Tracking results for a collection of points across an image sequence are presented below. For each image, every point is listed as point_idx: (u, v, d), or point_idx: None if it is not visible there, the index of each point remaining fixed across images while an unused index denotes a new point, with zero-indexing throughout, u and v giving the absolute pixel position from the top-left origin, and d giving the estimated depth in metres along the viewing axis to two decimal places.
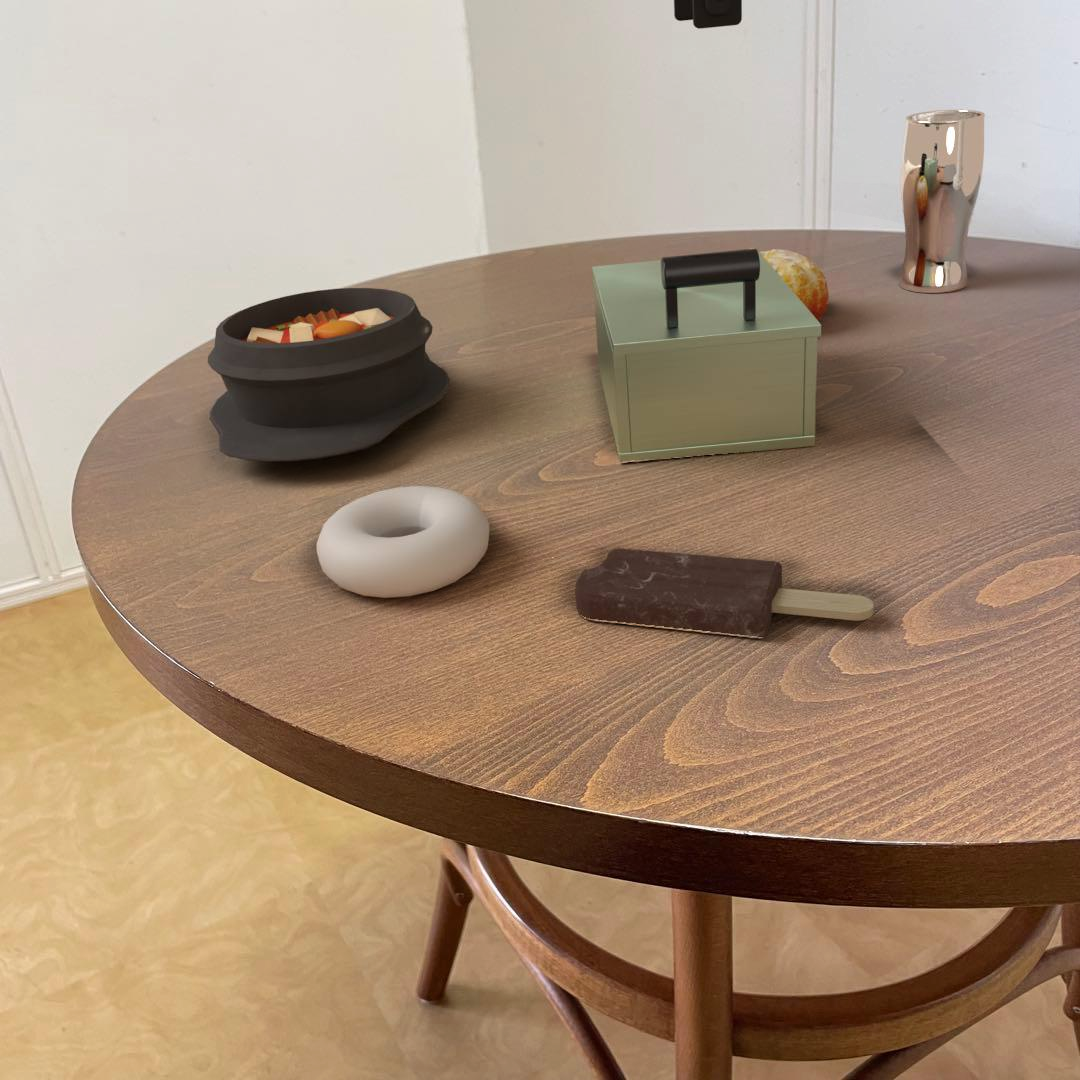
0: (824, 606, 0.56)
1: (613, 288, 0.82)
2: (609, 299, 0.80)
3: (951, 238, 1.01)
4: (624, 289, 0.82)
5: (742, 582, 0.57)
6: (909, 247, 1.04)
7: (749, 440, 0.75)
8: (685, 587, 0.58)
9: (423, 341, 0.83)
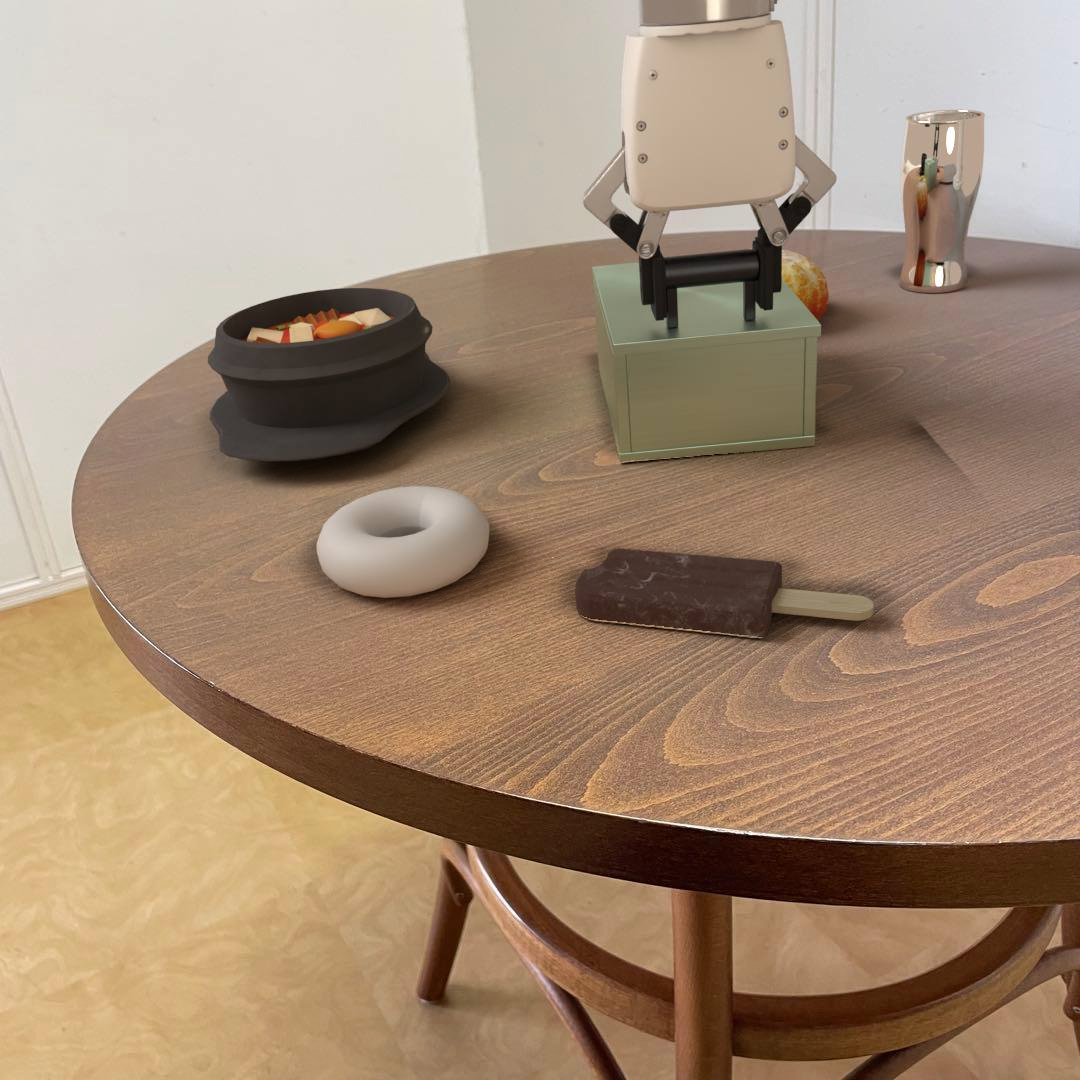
0: (824, 606, 0.56)
1: (613, 288, 0.82)
2: (609, 299, 0.80)
3: (951, 238, 1.01)
4: (624, 289, 0.82)
5: (742, 582, 0.57)
6: (909, 247, 1.04)
7: (749, 440, 0.75)
8: (685, 587, 0.58)
9: (423, 341, 0.83)
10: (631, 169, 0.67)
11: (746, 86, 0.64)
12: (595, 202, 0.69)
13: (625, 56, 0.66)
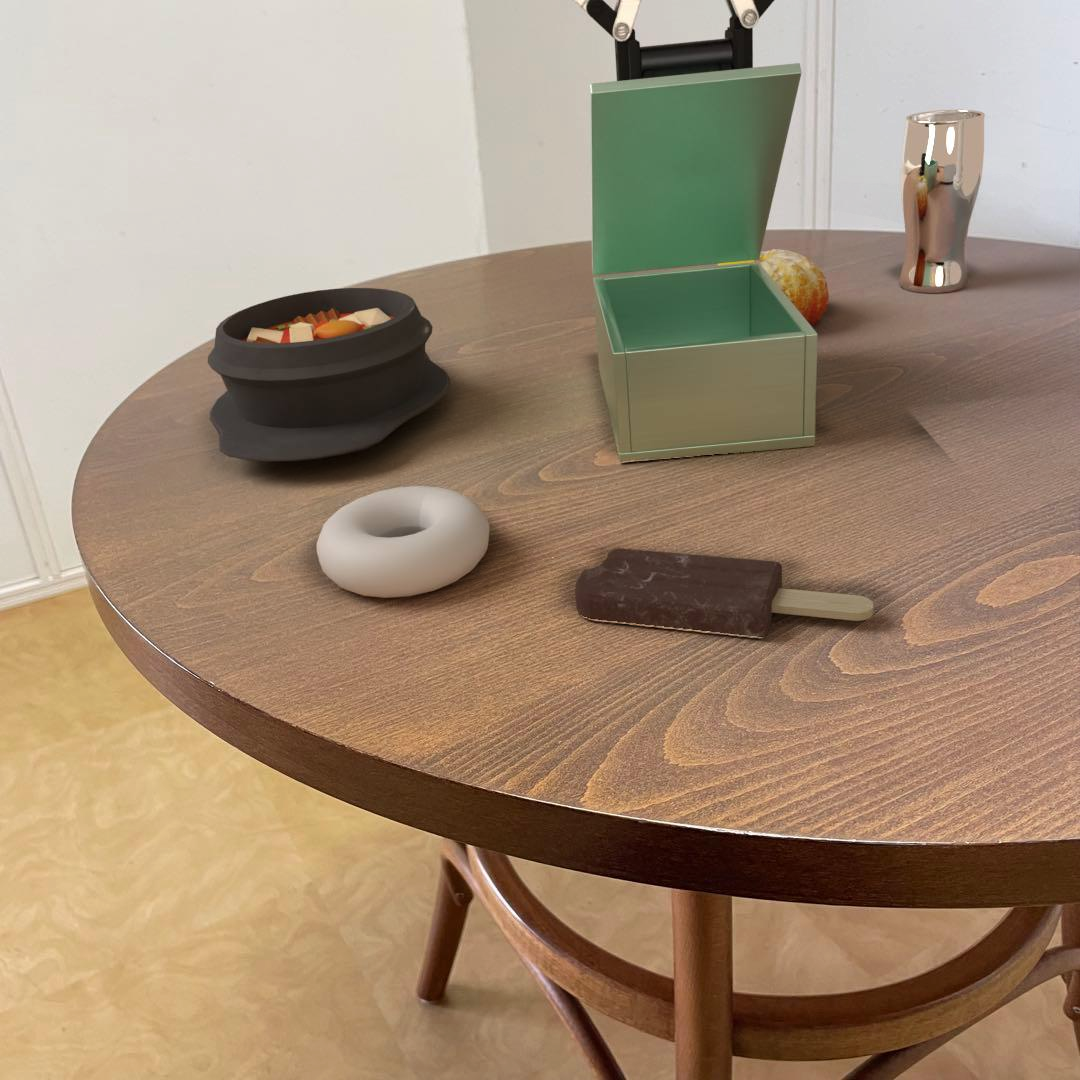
0: (824, 606, 0.56)
1: None
2: None
3: (951, 238, 1.01)
4: None
5: (742, 582, 0.57)
6: (909, 247, 1.04)
7: (749, 440, 0.75)
8: (685, 587, 0.58)
9: (423, 341, 0.83)
10: None
11: None
12: None
13: None
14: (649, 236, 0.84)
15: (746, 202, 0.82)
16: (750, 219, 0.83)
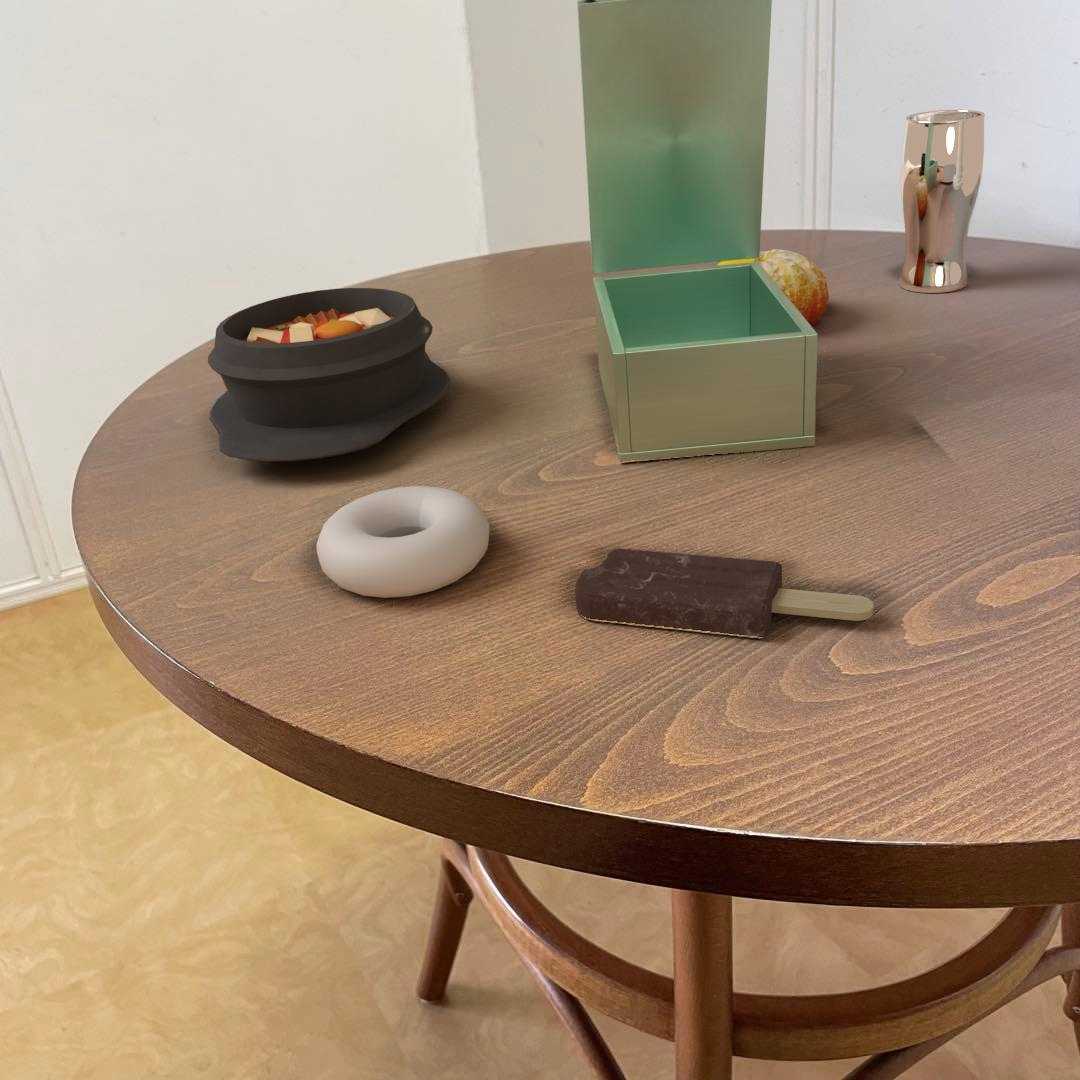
0: (824, 606, 0.56)
1: None
2: None
3: (951, 238, 1.01)
4: None
5: (742, 582, 0.57)
6: (909, 247, 1.04)
7: (749, 440, 0.75)
8: (685, 587, 0.58)
9: (423, 341, 0.83)
10: None
11: None
12: None
13: None
14: (646, 215, 0.86)
15: (738, 168, 0.84)
16: (744, 194, 0.85)
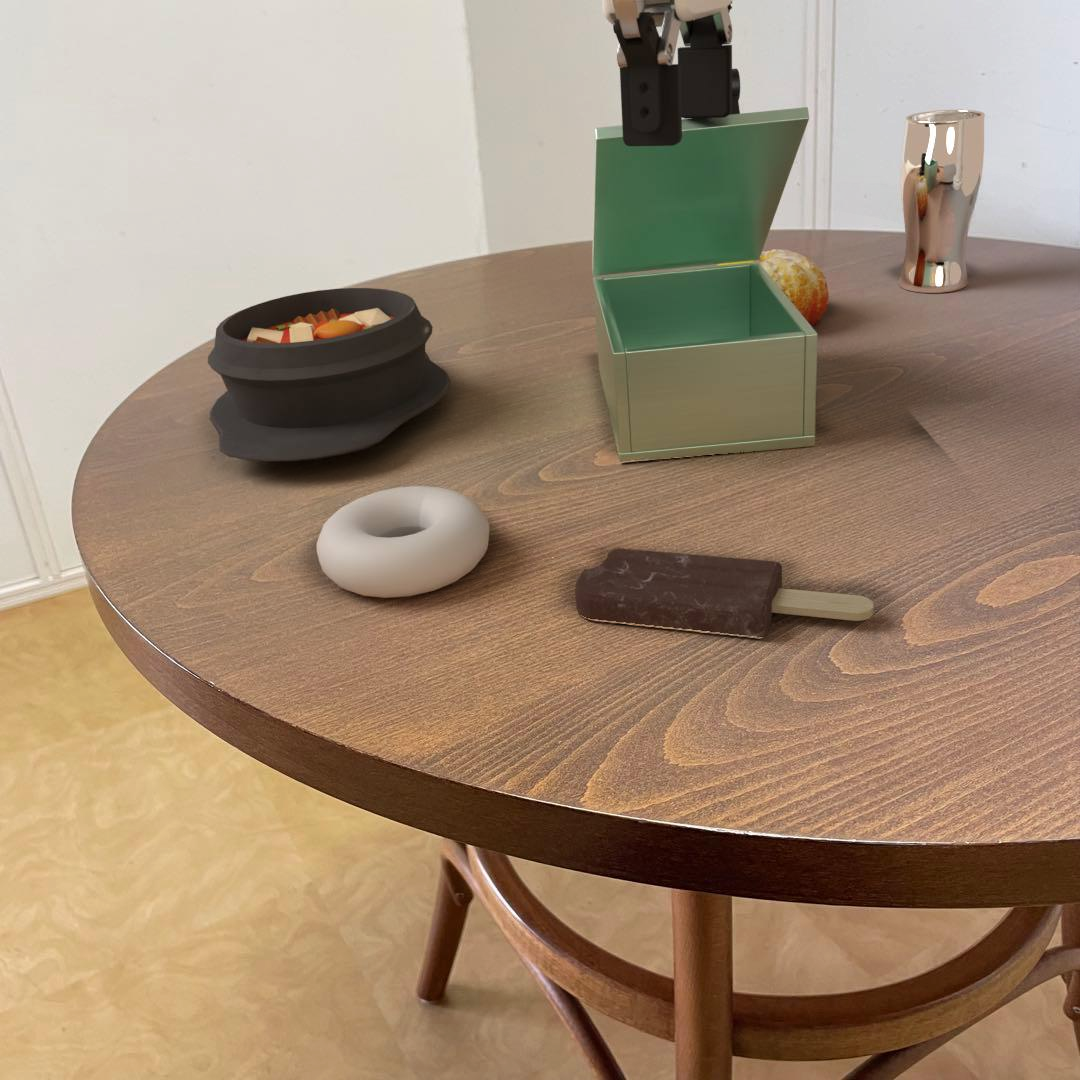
0: (824, 606, 0.56)
1: None
2: None
3: (951, 238, 1.01)
4: None
5: (742, 582, 0.57)
6: (909, 247, 1.04)
7: (749, 440, 0.75)
8: (685, 587, 0.58)
9: (423, 341, 0.83)
10: None
11: None
12: None
13: None
14: (650, 245, 0.84)
15: (748, 217, 0.81)
16: (751, 230, 0.83)
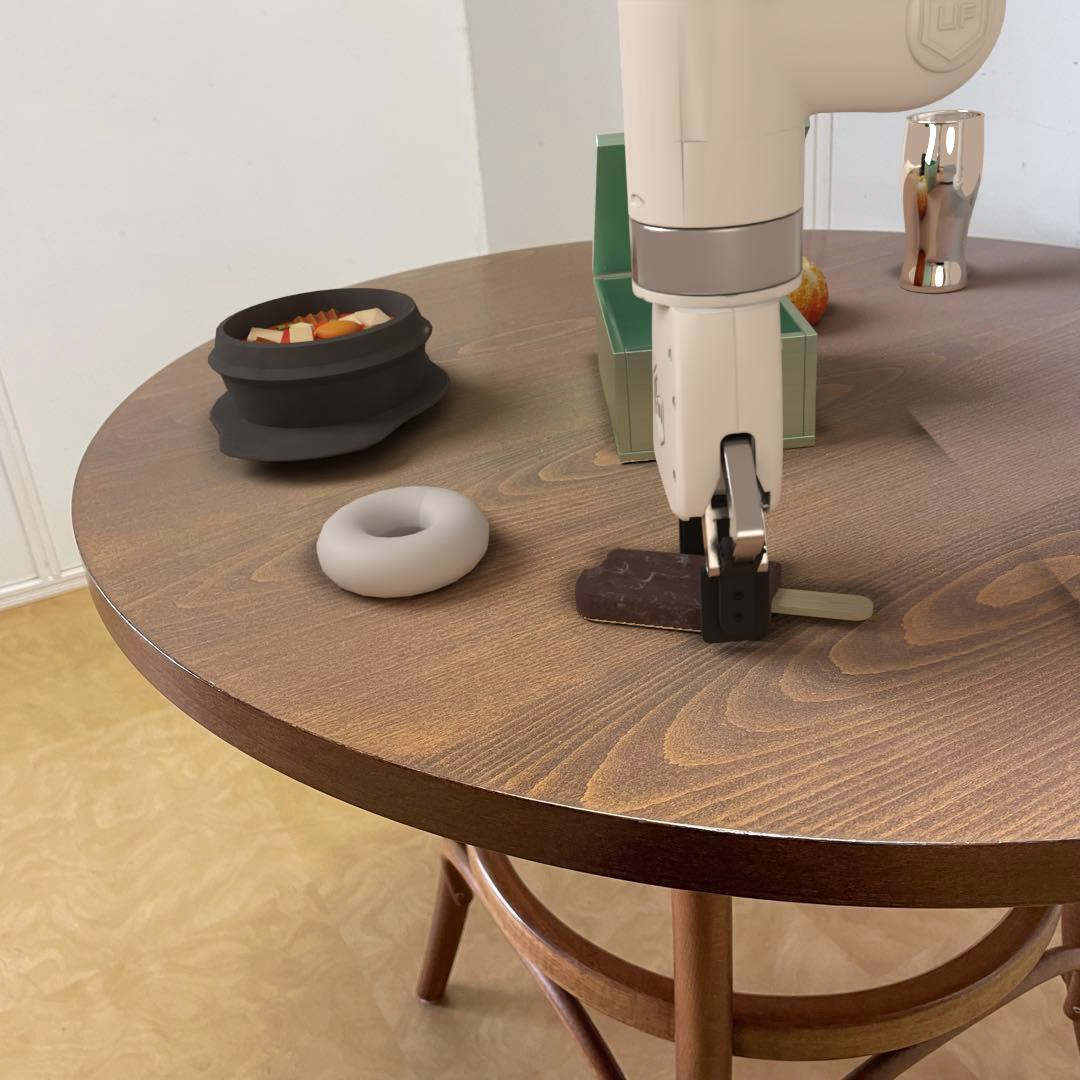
0: (824, 606, 0.56)
1: None
2: None
3: (951, 238, 1.01)
4: None
5: None
6: (909, 247, 1.04)
7: None
8: (685, 587, 0.58)
9: (423, 341, 0.83)
10: (779, 467, 0.50)
11: None
12: None
13: (728, 338, 0.47)
14: None
15: None
16: None
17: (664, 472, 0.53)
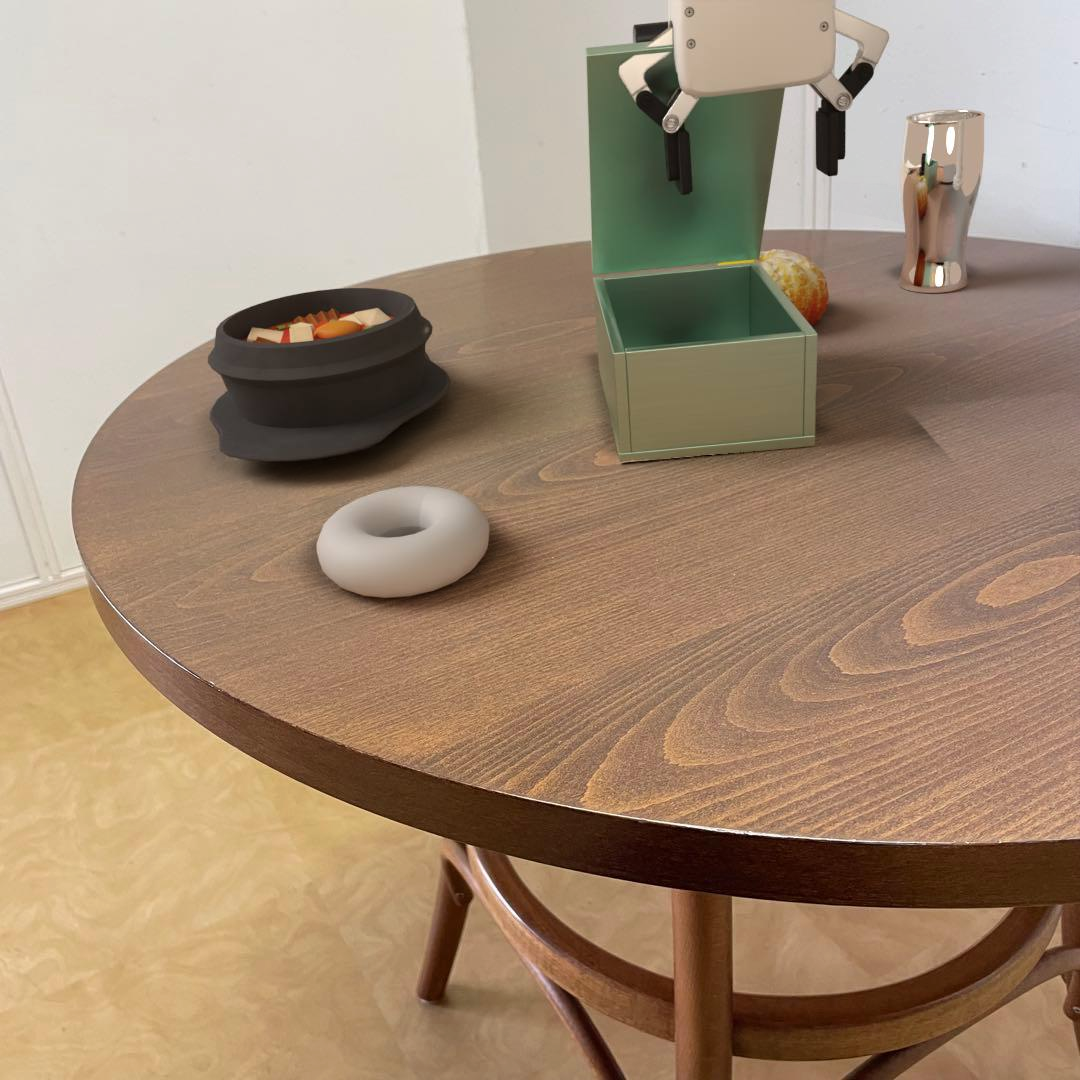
0: None
1: None
2: None
3: (951, 238, 1.01)
4: None
5: None
6: (909, 247, 1.04)
7: (749, 440, 0.75)
8: None
9: (423, 341, 0.83)
10: (680, 55, 0.71)
11: None
12: (629, 71, 0.72)
13: None
14: (648, 228, 0.85)
15: (744, 189, 0.82)
16: (748, 209, 0.84)
17: None
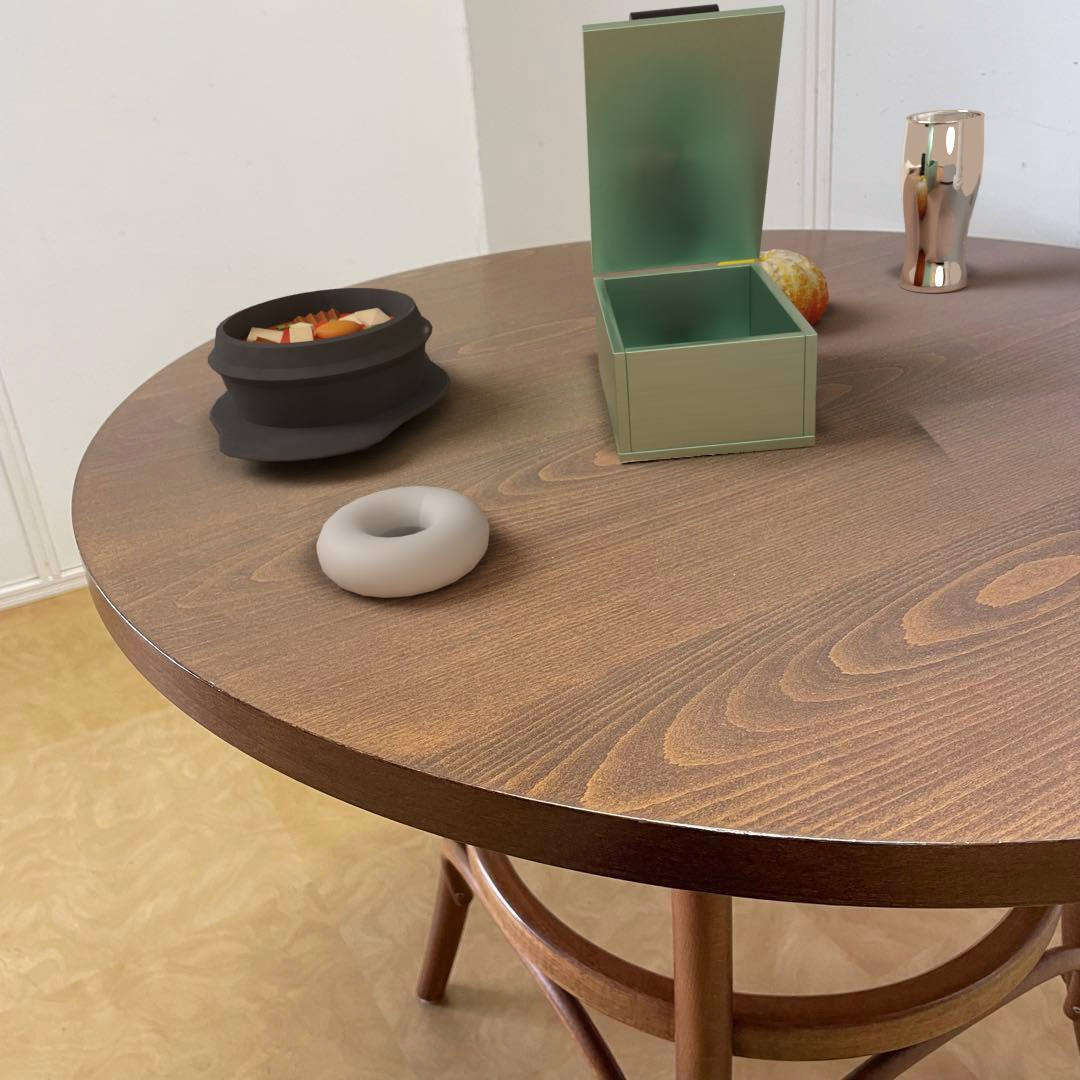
0: None
1: None
2: None
3: (951, 238, 1.01)
4: None
5: None
6: (909, 247, 1.04)
7: (749, 440, 0.75)
8: None
9: (423, 341, 0.83)
10: None
11: None
12: None
13: None
14: (647, 222, 0.85)
15: (741, 179, 0.83)
16: (747, 203, 0.84)
17: None
